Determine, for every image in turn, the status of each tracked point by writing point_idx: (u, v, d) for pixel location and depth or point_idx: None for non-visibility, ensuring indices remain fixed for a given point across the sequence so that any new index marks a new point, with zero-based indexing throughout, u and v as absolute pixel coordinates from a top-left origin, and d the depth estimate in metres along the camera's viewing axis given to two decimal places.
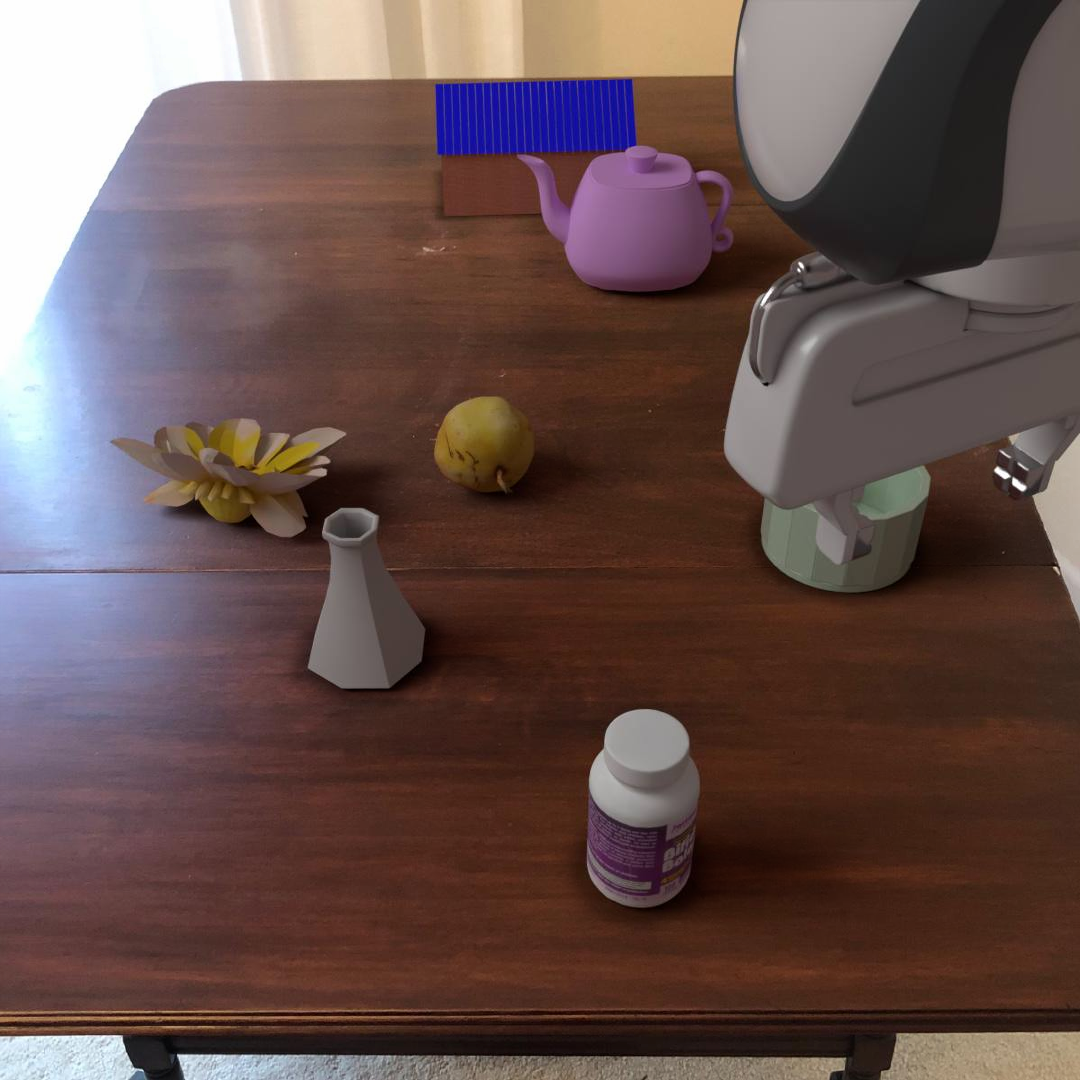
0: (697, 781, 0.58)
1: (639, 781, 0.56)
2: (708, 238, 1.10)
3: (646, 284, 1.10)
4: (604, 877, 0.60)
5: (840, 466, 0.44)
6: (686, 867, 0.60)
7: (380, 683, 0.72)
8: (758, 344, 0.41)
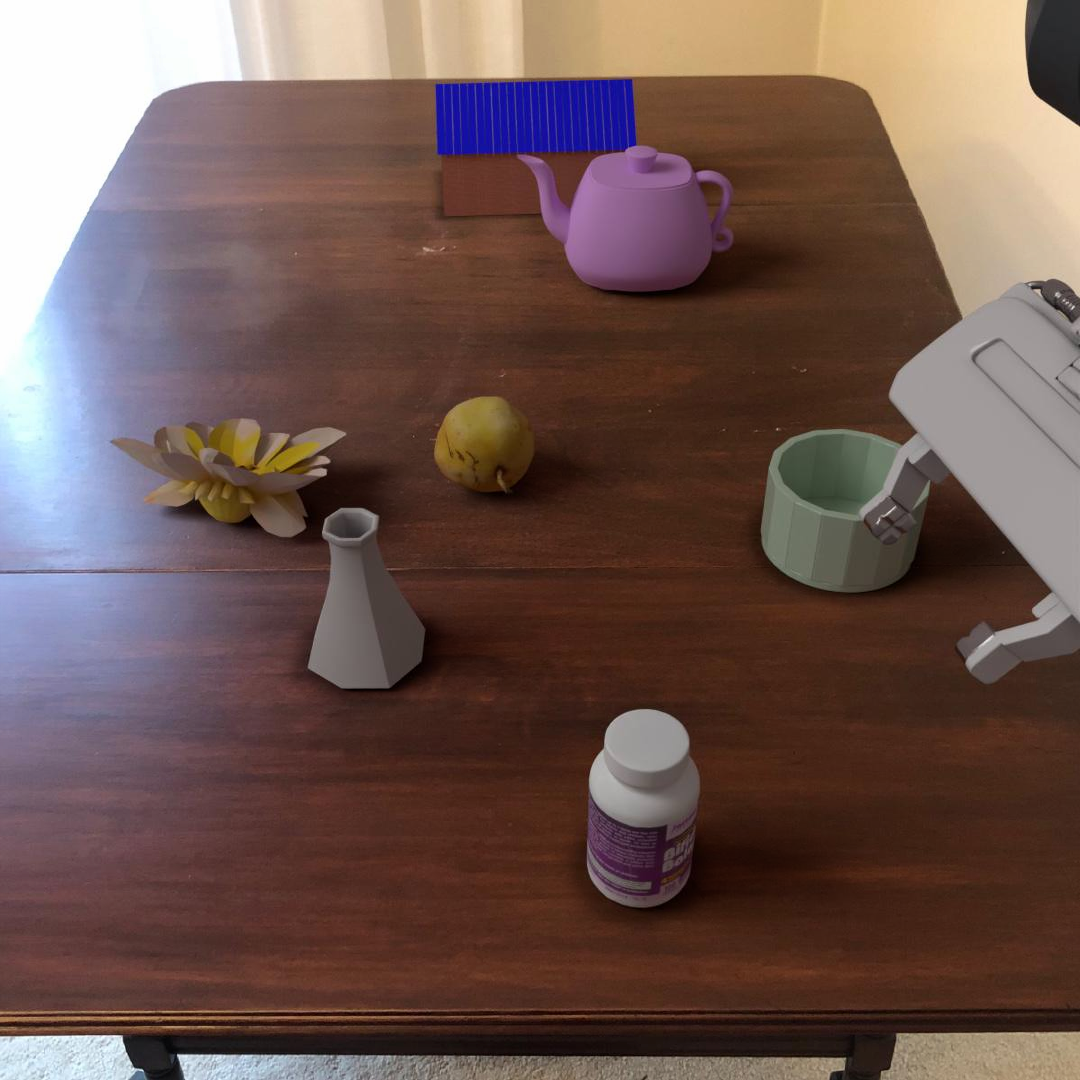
0: (697, 781, 0.58)
1: (639, 781, 0.56)
2: (708, 238, 1.10)
3: (646, 284, 1.10)
4: (604, 877, 0.60)
5: (927, 392, 0.57)
6: (686, 867, 0.60)
7: (380, 683, 0.72)
8: None
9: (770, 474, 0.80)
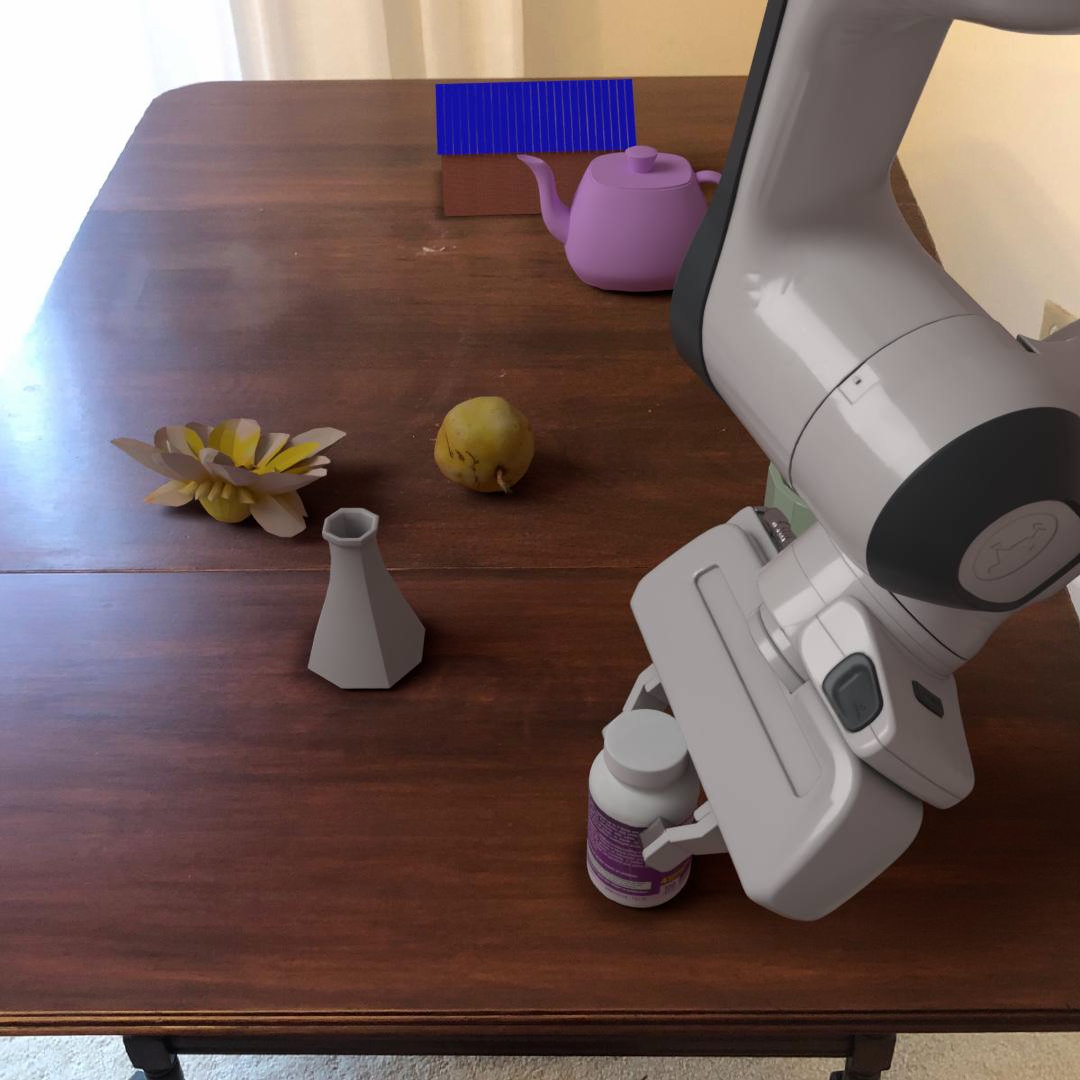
0: (697, 781, 0.58)
1: (639, 781, 0.56)
2: None
3: (646, 284, 1.10)
4: (604, 877, 0.60)
5: (657, 607, 0.62)
6: (686, 867, 0.60)
7: (380, 683, 0.72)
8: None
9: (770, 474, 0.80)
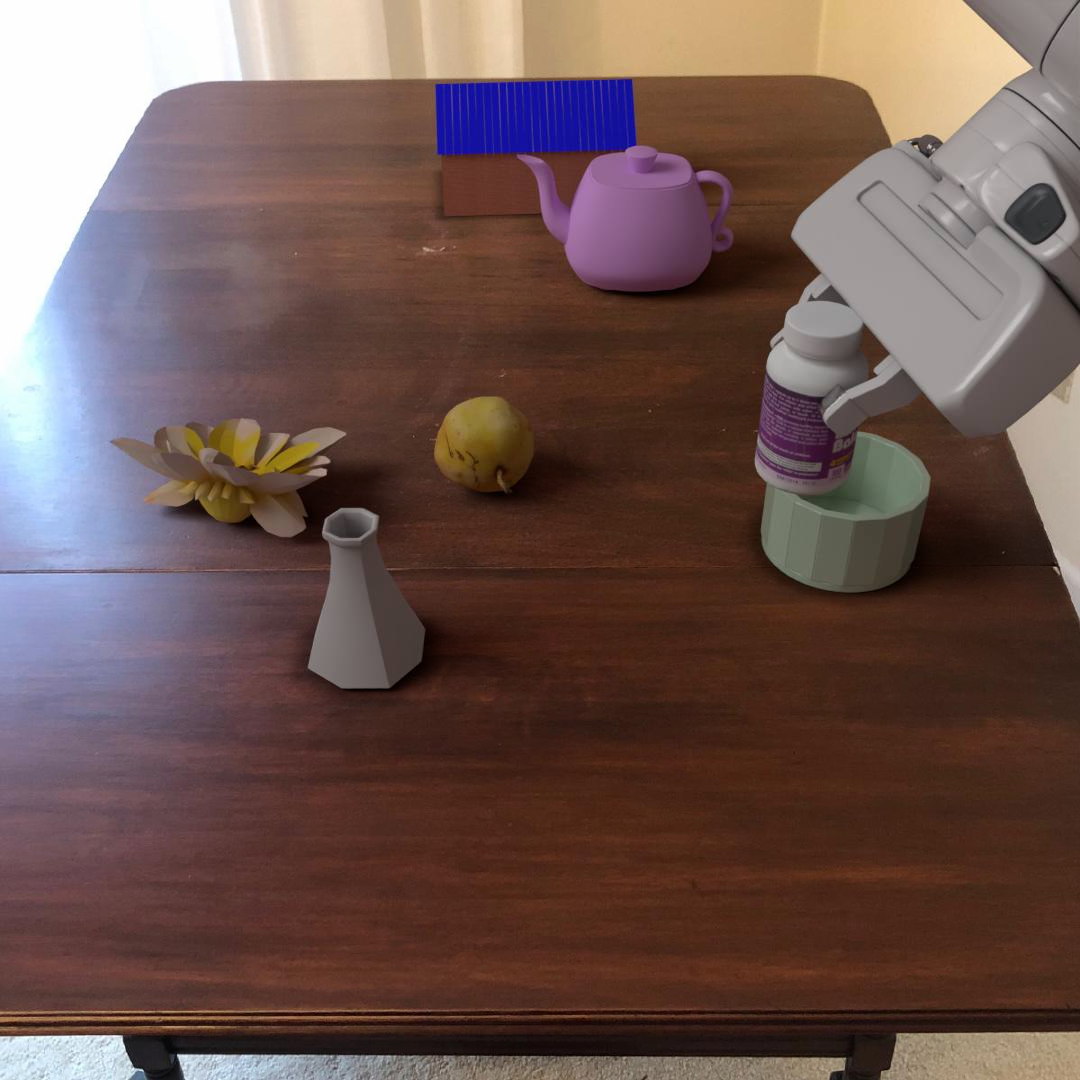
0: (867, 364, 0.64)
1: (821, 349, 0.62)
2: (708, 238, 1.10)
3: (646, 284, 1.10)
4: (776, 464, 0.66)
5: (820, 228, 0.68)
6: (850, 457, 0.66)
7: (380, 683, 0.72)
8: None
9: None
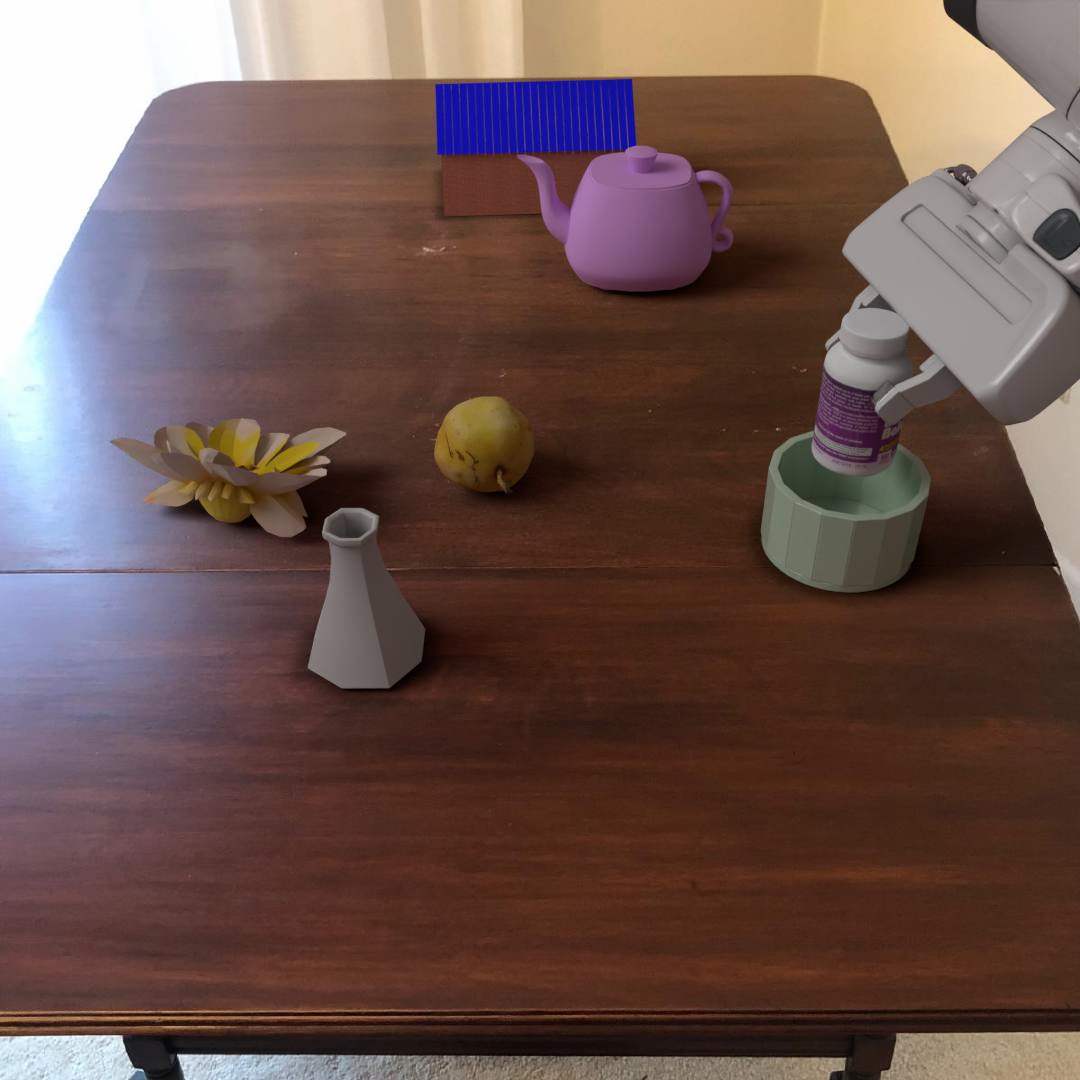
0: None
1: (873, 349, 0.72)
2: (708, 238, 1.10)
3: (646, 284, 1.10)
4: (832, 449, 0.76)
5: (869, 245, 0.78)
6: (896, 443, 0.76)
7: (380, 683, 0.72)
8: None
9: (770, 474, 0.80)
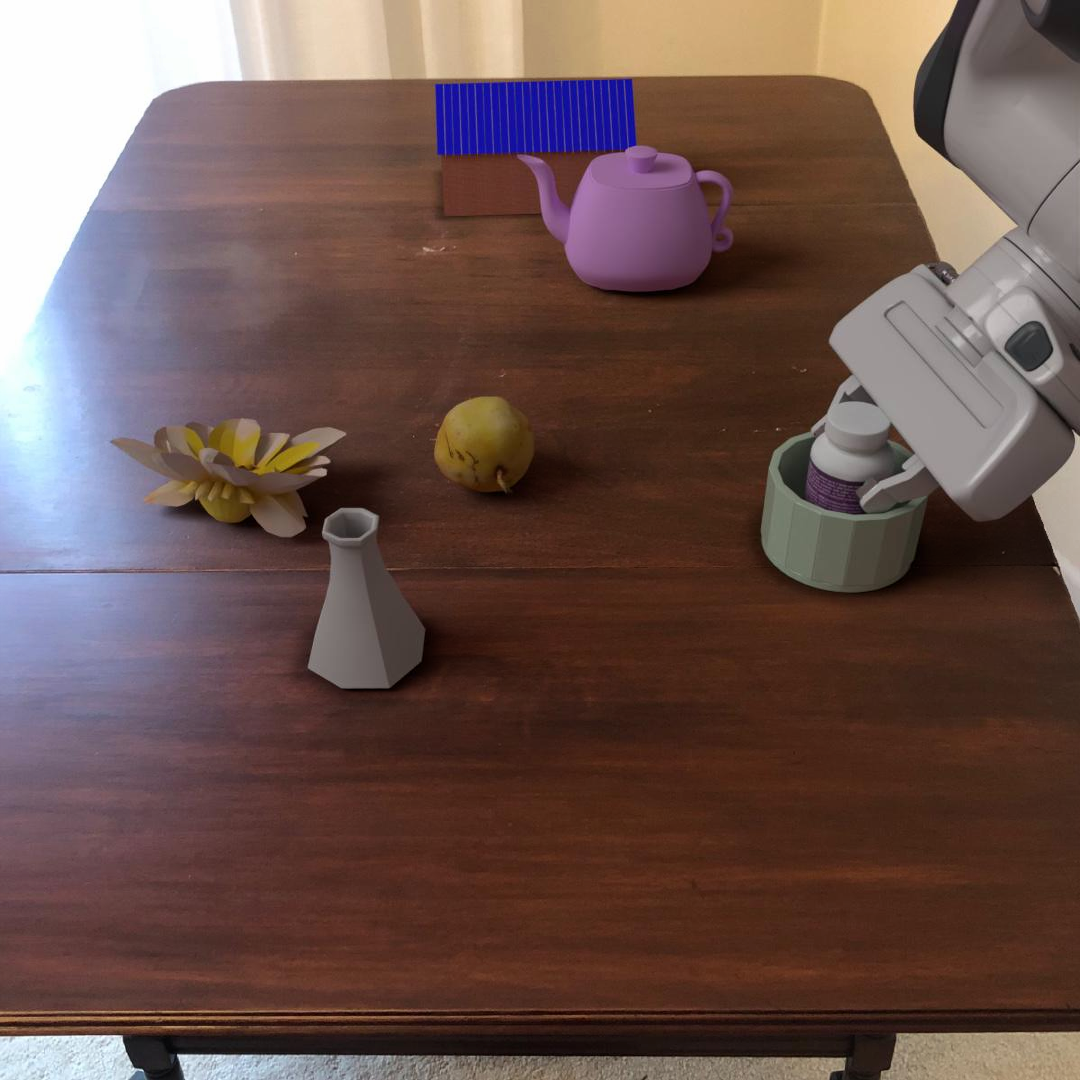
0: (893, 453, 0.78)
1: (856, 443, 0.76)
2: (708, 238, 1.10)
3: (646, 284, 1.10)
4: None
5: (853, 338, 0.82)
6: None
7: (380, 683, 0.72)
8: None
9: (770, 474, 0.80)
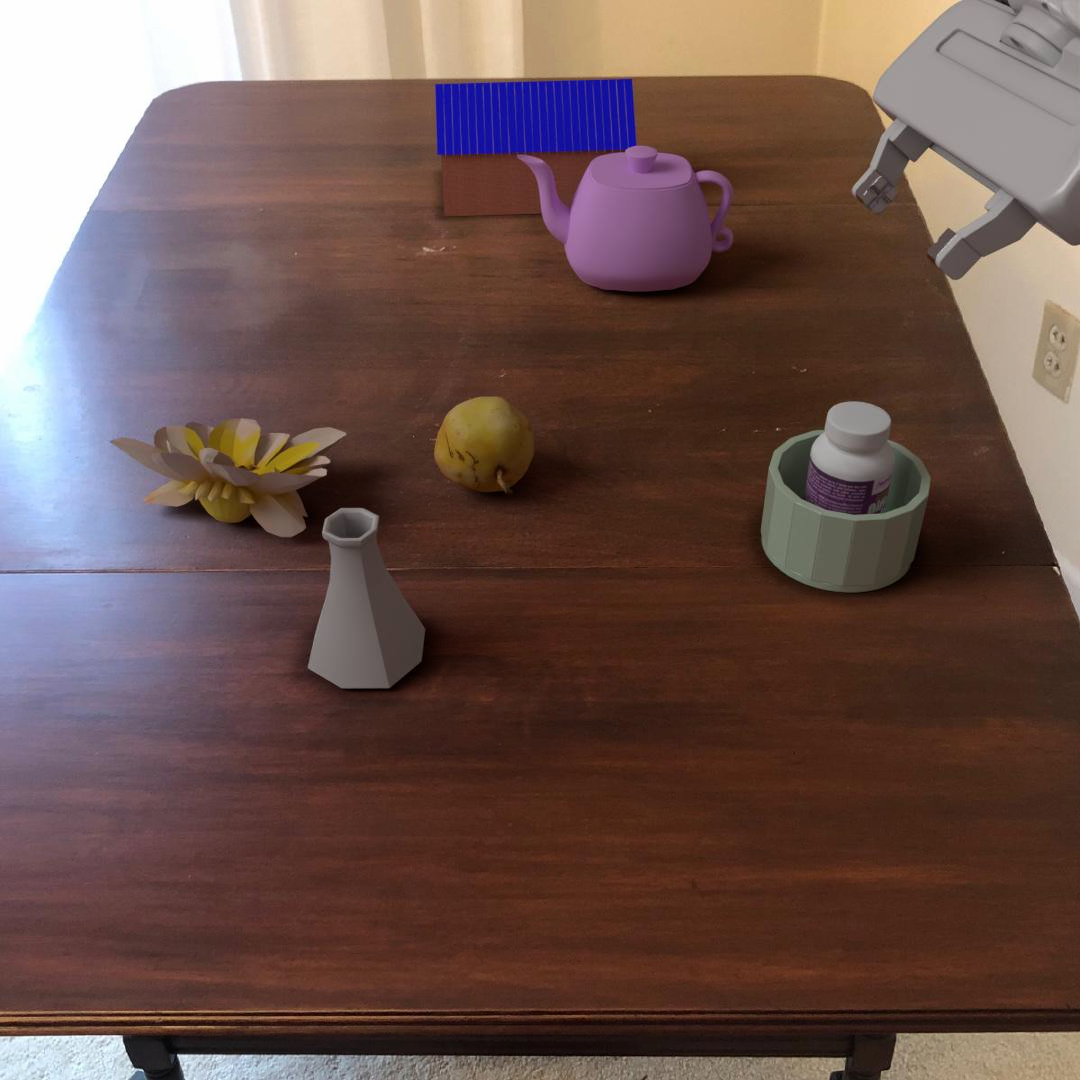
0: (893, 453, 0.78)
1: (856, 443, 0.76)
2: (708, 238, 1.10)
3: (646, 284, 1.10)
4: None
5: (902, 83, 0.70)
6: None
7: (380, 683, 0.72)
8: None
9: (770, 474, 0.80)
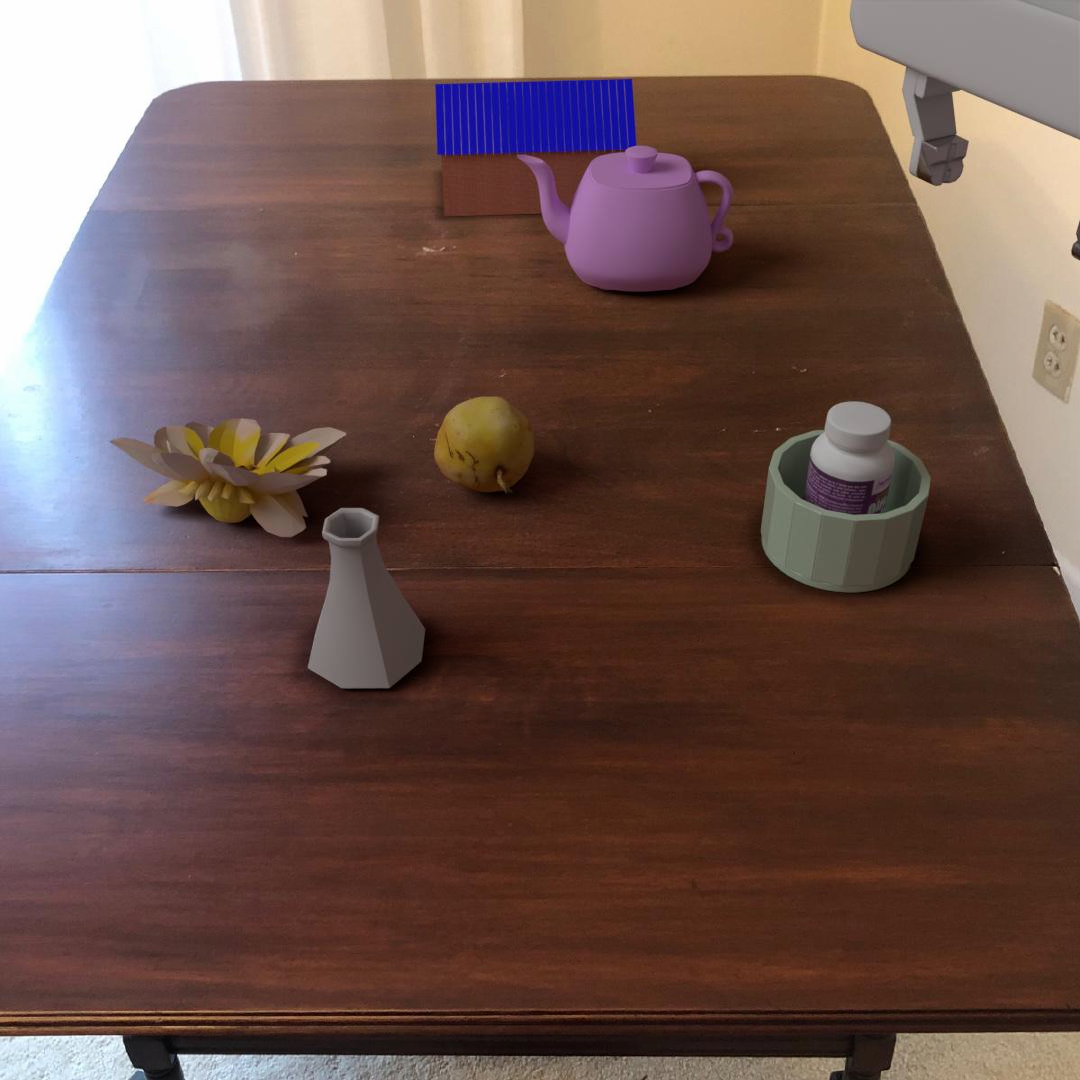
0: (893, 453, 0.78)
1: (856, 443, 0.76)
2: (708, 238, 1.10)
3: (646, 284, 1.10)
4: None
5: (887, 22, 0.51)
6: None
7: (380, 683, 0.72)
8: None
9: (770, 474, 0.80)
